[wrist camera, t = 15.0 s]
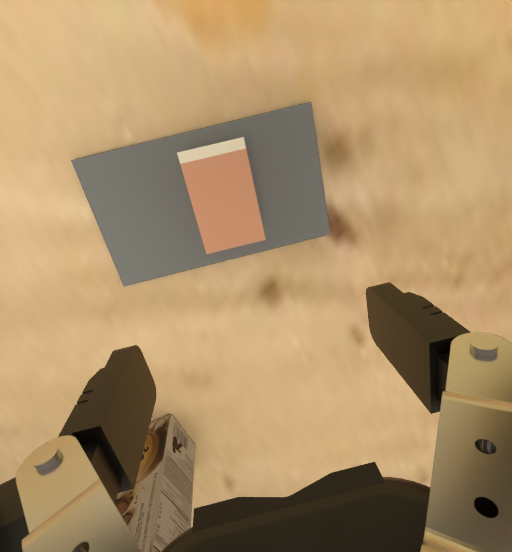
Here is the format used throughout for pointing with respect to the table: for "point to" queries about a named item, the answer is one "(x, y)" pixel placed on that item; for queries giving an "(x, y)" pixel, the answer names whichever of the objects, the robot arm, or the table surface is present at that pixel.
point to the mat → (177, 204)
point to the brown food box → (161, 487)
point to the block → (222, 194)
